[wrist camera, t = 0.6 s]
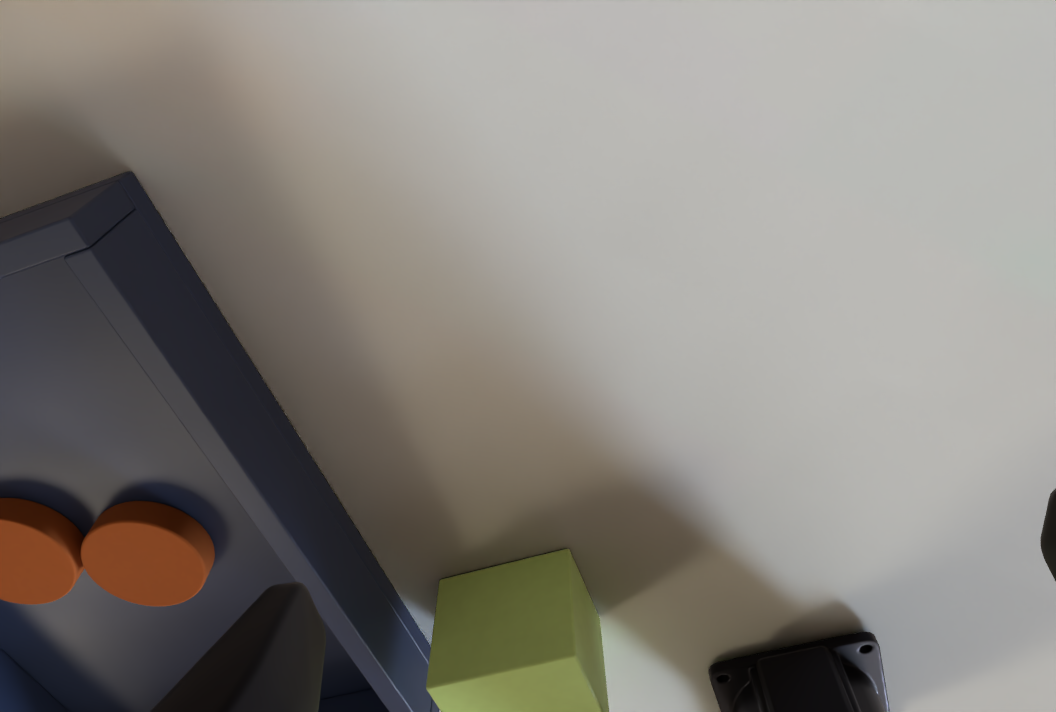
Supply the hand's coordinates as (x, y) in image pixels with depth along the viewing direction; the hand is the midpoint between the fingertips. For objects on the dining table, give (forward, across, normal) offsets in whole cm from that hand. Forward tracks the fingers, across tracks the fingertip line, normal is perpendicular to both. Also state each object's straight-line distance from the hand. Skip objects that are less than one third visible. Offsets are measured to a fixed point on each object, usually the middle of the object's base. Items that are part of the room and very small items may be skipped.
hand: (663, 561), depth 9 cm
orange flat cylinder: (+12, +16, +9) cm, 22 cm away
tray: (+13, +18, +9) cm, 24 cm away
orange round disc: (+12, +20, +8) cm, 25 cm away
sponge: (+13, +5, +15) cm, 21 cm away
